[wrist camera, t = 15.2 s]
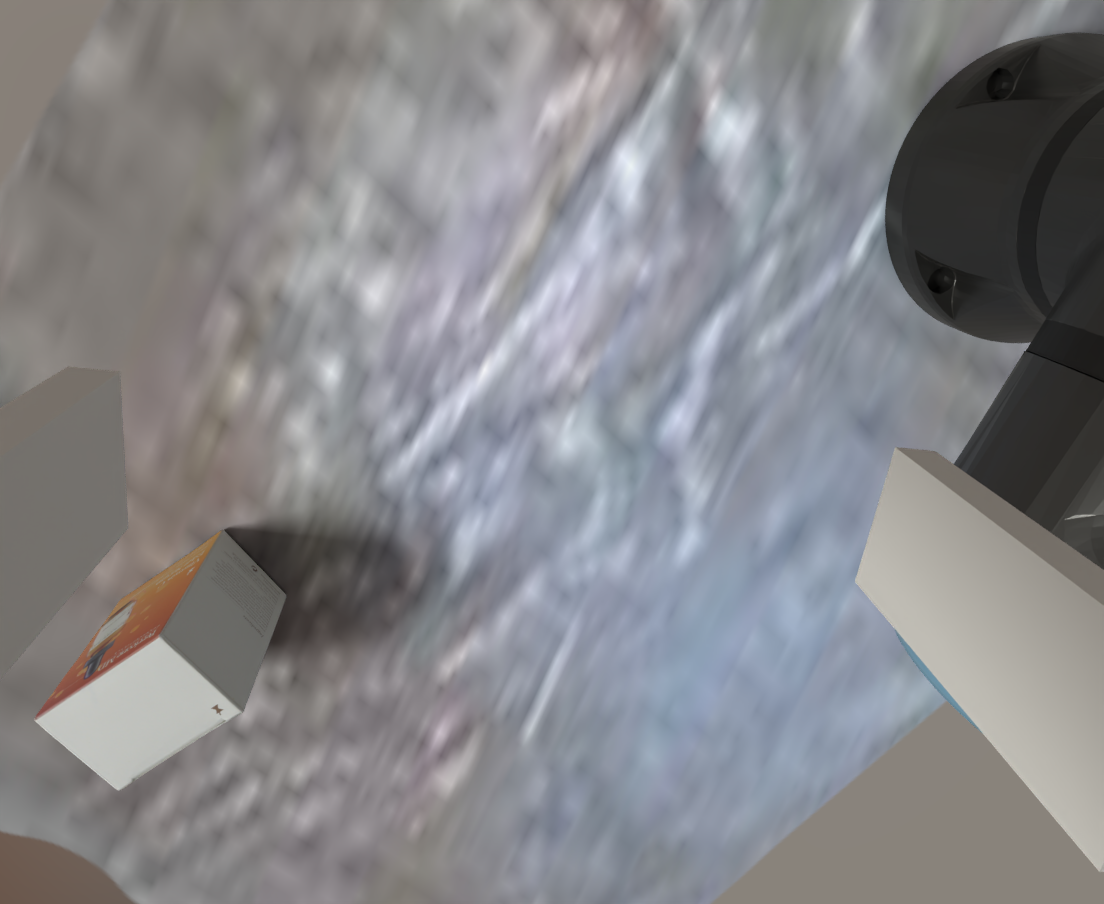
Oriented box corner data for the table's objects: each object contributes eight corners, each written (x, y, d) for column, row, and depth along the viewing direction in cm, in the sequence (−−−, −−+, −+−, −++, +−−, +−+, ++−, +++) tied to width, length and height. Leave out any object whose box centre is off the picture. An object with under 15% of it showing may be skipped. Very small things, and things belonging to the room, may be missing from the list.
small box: (225, 525, 47) (162, 631, 37) (290, 595, 49) (247, 712, 39) (116, 599, 48) (27, 721, 38) (184, 664, 50) (116, 795, 40)
